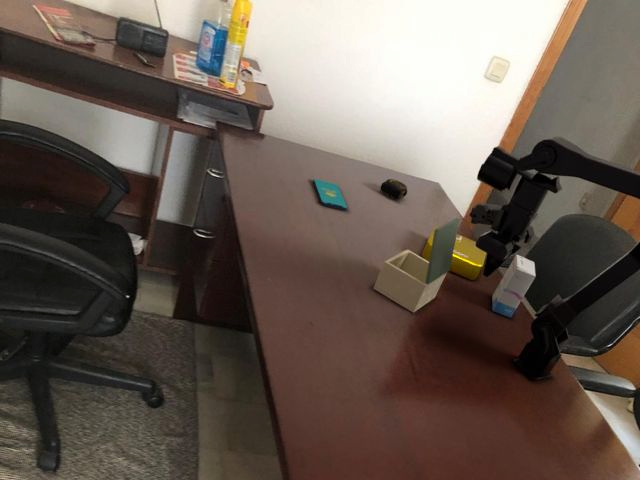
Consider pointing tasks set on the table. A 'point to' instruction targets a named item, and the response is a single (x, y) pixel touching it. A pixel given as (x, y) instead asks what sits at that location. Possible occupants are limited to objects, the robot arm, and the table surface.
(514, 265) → the ink box
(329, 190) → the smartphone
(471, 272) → the element tile
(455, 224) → the lid
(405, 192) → the tape measure
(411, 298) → the tin
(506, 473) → the table surface
